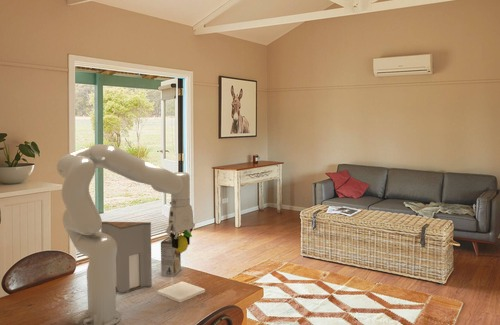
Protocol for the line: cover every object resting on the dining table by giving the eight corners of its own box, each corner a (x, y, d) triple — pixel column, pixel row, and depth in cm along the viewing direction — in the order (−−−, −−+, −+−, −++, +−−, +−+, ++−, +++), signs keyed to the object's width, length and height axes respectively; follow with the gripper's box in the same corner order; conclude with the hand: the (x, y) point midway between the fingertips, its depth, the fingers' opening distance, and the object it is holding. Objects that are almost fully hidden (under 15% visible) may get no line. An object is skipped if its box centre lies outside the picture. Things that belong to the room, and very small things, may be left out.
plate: (180, 302, 170) (180, 299, 170) (157, 293, 179) (156, 290, 179) (205, 291, 181) (205, 289, 181) (182, 283, 190) (182, 281, 190)
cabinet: (151, 285, 187) (150, 222, 185) (145, 294, 178) (144, 227, 175) (103, 284, 188) (102, 221, 185) (95, 293, 178) (93, 227, 176)
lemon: (192, 252, 179) (192, 228, 178) (183, 256, 174) (182, 232, 173) (180, 249, 183) (179, 226, 182) (170, 253, 178) (170, 229, 177)
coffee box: (168, 269, 208) (168, 236, 207) (181, 270, 207) (180, 237, 205) (160, 275, 199) (160, 241, 198) (174, 277, 198) (173, 242, 197)
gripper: (170, 207, 167) (171, 252, 169) (202, 200, 181) (202, 243, 183) (157, 204, 172) (158, 249, 174) (189, 198, 185) (189, 240, 187)
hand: (180, 245), depth 178 cm, fingers closed on lemon, 5 cm apart
